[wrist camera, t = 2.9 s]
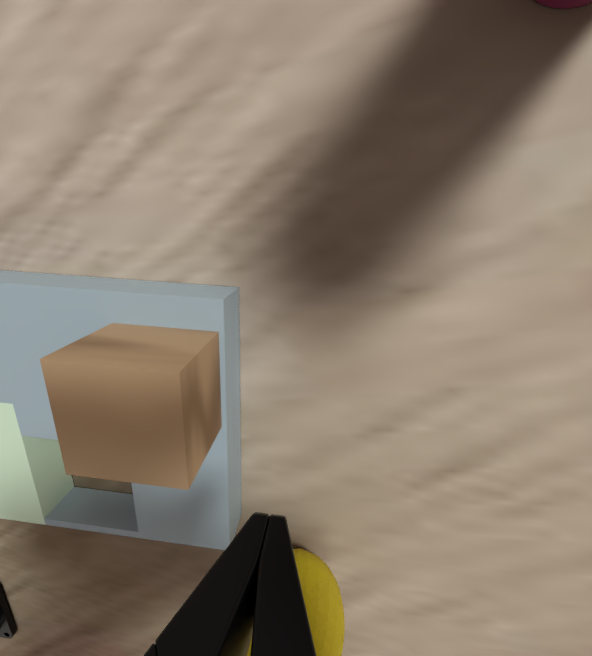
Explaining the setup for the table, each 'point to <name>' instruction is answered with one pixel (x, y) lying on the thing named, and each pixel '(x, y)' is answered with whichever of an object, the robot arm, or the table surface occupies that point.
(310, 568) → the lemon
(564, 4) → the cup
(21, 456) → the board
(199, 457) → the block
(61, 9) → the table surface
